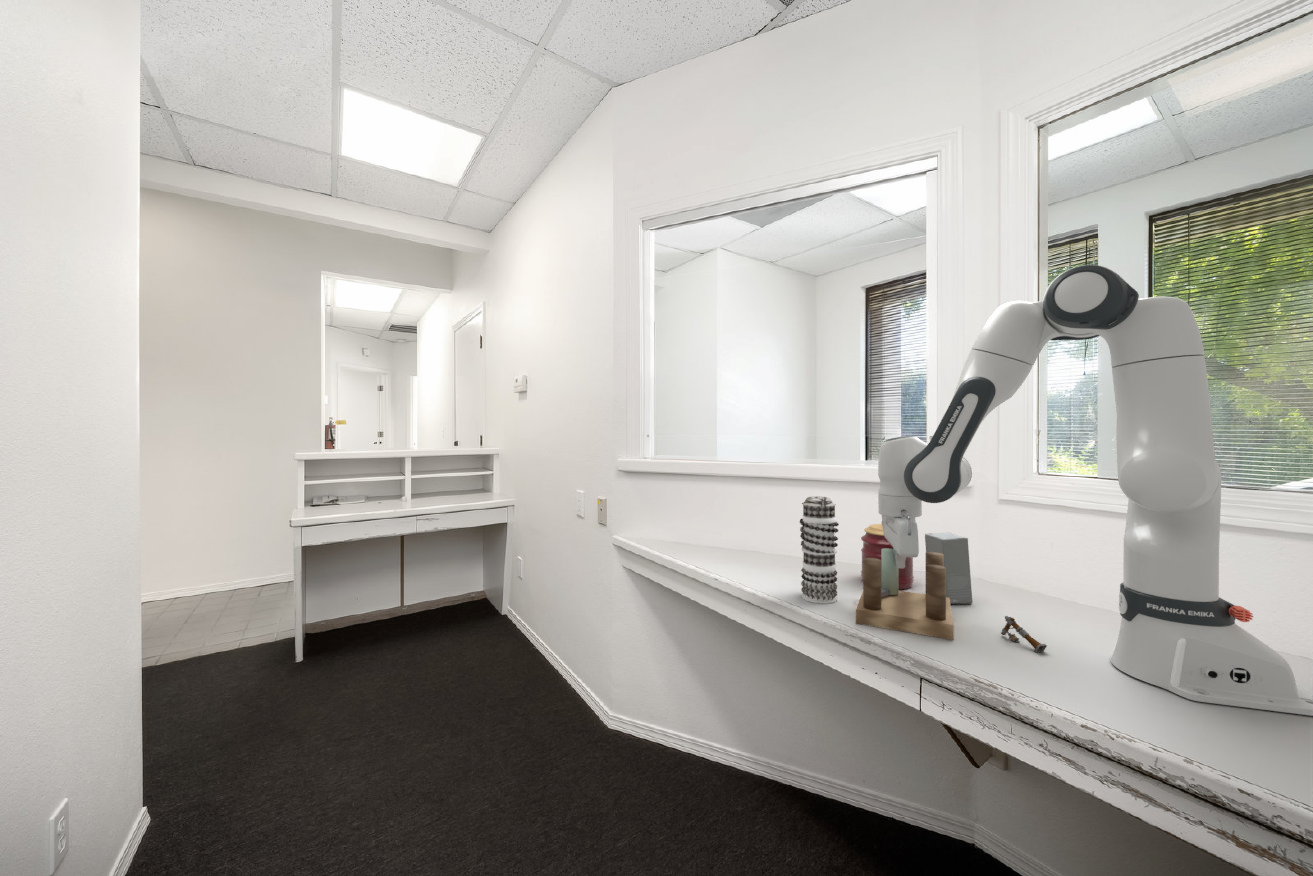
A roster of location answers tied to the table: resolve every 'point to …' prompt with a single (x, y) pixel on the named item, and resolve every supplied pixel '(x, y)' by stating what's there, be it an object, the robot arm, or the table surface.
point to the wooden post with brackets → (1022, 632)
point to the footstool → (907, 602)
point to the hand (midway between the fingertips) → (900, 567)
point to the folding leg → (889, 573)
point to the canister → (872, 549)
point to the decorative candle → (819, 550)
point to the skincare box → (953, 564)
